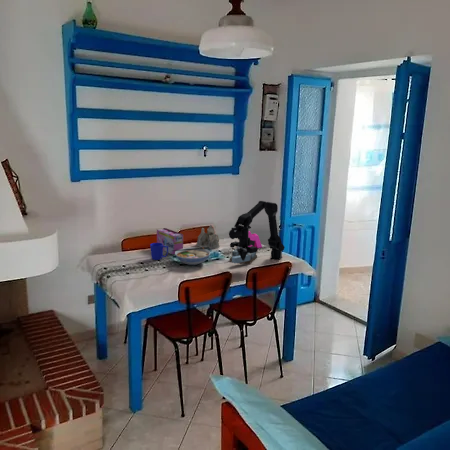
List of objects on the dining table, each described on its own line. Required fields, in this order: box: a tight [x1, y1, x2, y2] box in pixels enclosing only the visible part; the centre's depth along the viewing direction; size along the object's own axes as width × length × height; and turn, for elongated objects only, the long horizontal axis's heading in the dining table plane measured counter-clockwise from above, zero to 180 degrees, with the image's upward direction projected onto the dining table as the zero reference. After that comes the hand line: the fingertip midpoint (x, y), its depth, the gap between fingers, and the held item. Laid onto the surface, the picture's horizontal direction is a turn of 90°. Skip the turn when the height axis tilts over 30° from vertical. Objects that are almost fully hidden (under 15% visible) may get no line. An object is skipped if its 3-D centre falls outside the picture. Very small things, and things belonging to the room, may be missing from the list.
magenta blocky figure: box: [248, 230, 263, 249], centre depth 328 cm, size 12×10×10 cm
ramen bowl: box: [172, 247, 211, 266], centre depth 289 cm, size 25×23×8 cm
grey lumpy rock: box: [196, 224, 220, 250], centre depth 328 cm, size 16×16×15 cm
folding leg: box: [231, 254, 251, 264], centre depth 288 cm, size 14×3×4 cm, turn 122°
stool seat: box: [229, 248, 258, 265], centre depth 298 cm, size 14×14×6 cm
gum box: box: [156, 227, 184, 255], centre depth 317 cm, size 24×8×14 cm, turn 40°
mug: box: [149, 242, 169, 261], centre depth 297 cm, size 8×12×10 cm
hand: (243, 260), depth 280 cm, fingers closed
